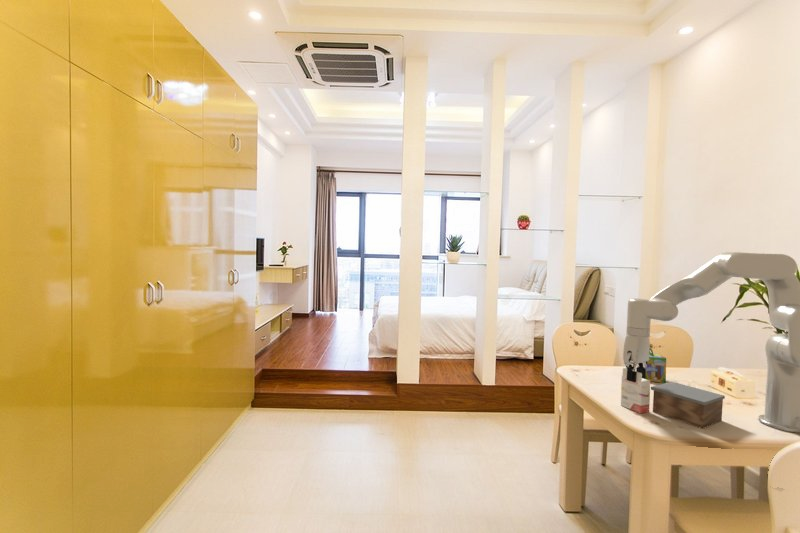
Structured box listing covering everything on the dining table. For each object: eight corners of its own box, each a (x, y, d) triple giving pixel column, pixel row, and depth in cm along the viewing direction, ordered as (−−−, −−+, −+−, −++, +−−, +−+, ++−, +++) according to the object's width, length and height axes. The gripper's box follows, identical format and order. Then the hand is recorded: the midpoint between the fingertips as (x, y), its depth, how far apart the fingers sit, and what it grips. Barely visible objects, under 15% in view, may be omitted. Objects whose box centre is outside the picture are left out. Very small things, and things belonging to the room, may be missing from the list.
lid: (724, 398, 142) (724, 395, 142) (704, 405, 134) (704, 402, 134) (671, 384, 157) (672, 381, 157) (650, 389, 149) (651, 386, 149)
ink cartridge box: (650, 411, 149) (651, 372, 149) (640, 413, 147) (642, 373, 147) (629, 403, 157) (630, 366, 157) (619, 405, 155) (621, 367, 155)
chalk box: (666, 383, 184) (667, 351, 183) (643, 381, 186) (645, 349, 185) (657, 377, 193) (659, 346, 192) (636, 375, 195) (637, 345, 194)
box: (721, 420, 143) (722, 398, 143) (702, 428, 136) (703, 405, 135) (672, 405, 157) (673, 384, 156) (652, 411, 149) (653, 390, 149)
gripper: (640, 328, 159) (638, 374, 159) (614, 332, 150) (612, 380, 151) (661, 331, 152) (658, 379, 153) (635, 335, 143) (633, 386, 144)
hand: (635, 379), depth 152 cm, fingers closed on ink cartridge box, 5 cm apart
